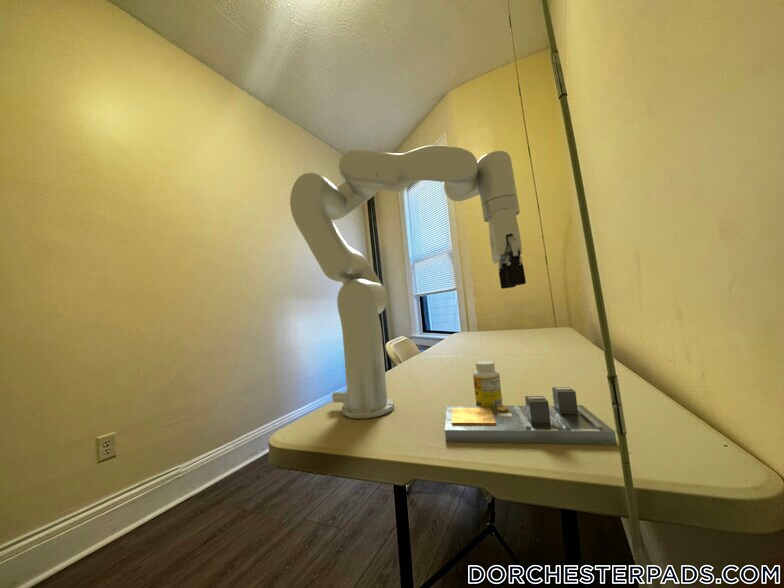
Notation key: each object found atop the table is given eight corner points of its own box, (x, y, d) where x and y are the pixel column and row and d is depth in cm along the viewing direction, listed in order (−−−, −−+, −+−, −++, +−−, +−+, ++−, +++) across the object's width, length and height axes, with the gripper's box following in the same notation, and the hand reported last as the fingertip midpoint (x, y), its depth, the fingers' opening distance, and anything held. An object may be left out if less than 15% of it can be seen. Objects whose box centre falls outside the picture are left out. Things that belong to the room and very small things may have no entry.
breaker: (559, 414, 53) (557, 390, 53) (554, 408, 56) (551, 386, 56) (578, 414, 52) (575, 390, 52) (571, 408, 55) (569, 385, 55)
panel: (445, 441, 50) (442, 405, 50) (447, 415, 62) (445, 386, 62) (616, 444, 45) (611, 403, 45) (582, 415, 56) (579, 383, 57)
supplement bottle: (477, 404, 67) (472, 360, 68) (502, 405, 65) (498, 359, 66) (475, 413, 62) (471, 365, 63) (503, 414, 60) (498, 364, 61)
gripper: (479, 224, 73) (490, 290, 72) (487, 200, 56) (500, 286, 55) (510, 218, 72) (521, 286, 71) (528, 192, 55) (542, 280, 54)
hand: (512, 286), depth 63 cm, fingers open, 9 cm apart
